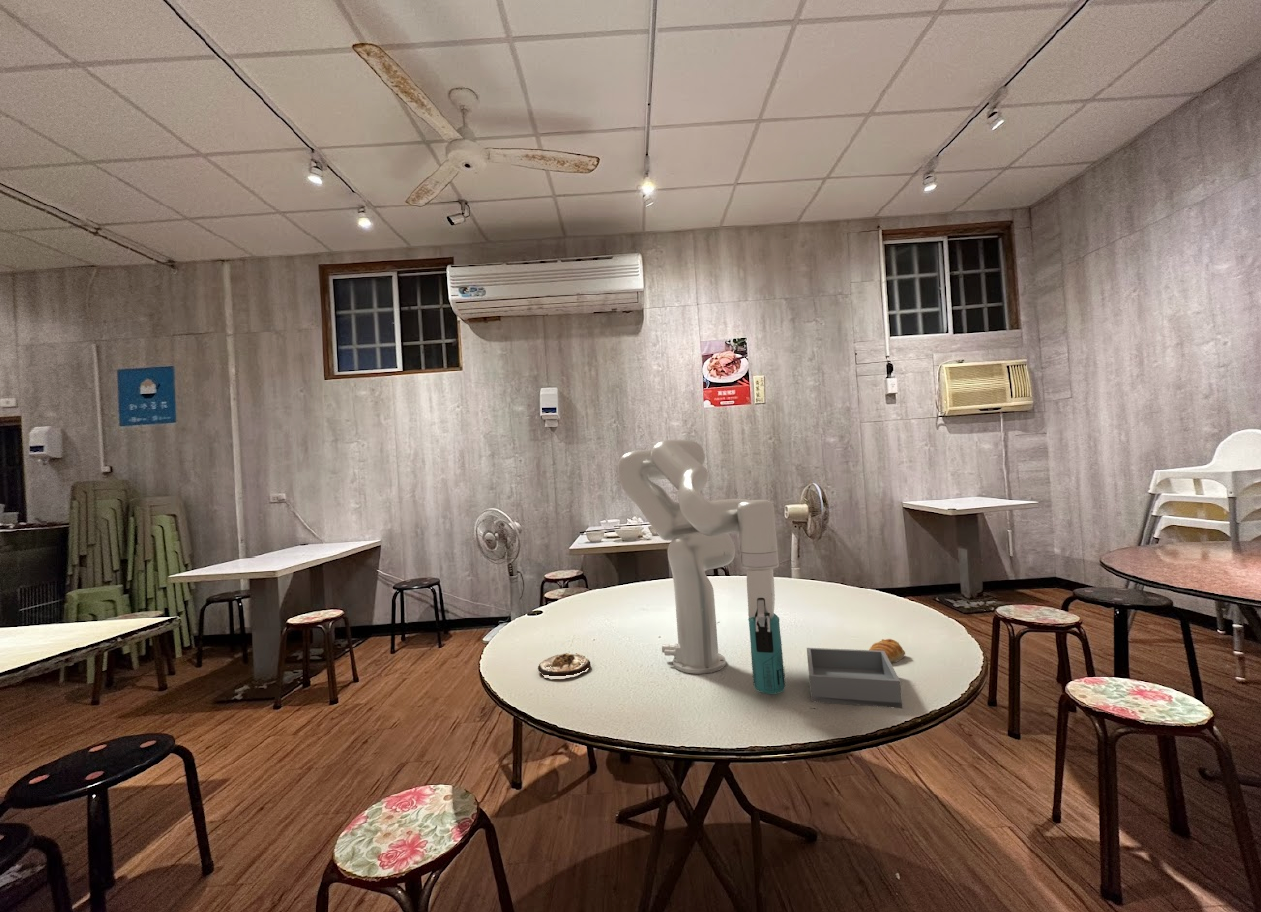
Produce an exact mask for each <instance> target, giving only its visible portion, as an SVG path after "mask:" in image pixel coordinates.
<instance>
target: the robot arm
mask: <svg viewBox="0 0 1261 912" xmlns="http://www.w3.org/2000/svg"><path fill="white" fill-rule="evenodd" d="M704 464H705V451H704V449H703V447H702V446H701V444H700V443H698V442H697V441H695V440H692V439H665V440H662V441H659V442H657V443H656V444H654V446H653V447H652V449H639V450H638V449H637V450H633V451H629V452H627V453H624V454H623V455H622V456H621V457H620V458H619V460H618V463H617V476H618V479H619V483H620V487H621V488H622V489H623V491H624V492H625V494H626V495H627V497H628V498H629V499H630V500H631V501H632V502H633V503H634V504H635V505H636V506H637V507H638V509H639V511H640V512H641V513H642V515H643V516H644V517H645V519H646V520H647V522H648V523H649V524H650V526H651V528H652V529H653V530H654V532H655V533H656V534H657V535H658V537H659V538H660V539H662V540H663V541H669V542H670V543H669V544H668V547H667V558H668V563H669V566H670V570H671V574H672V581H673V588H674V589H673V590H674V600H675V601H674V602H675V615H676V616H675V617H676V629H677V643H674V645H670V644H662V645H661V652H662V654H664V656H665V657H666V656H668V657H670V656H672V657H673V660H672V663H673V667H674V668H675V669H676V670H678V671H680V672H683V673H686V674H687V673H688V674H694V675H695V674H696V675H697V674H698V675H699V674H701V675H702V674H711V673H714V672H717V671H719V670H721V669H723V668H724V667H725V666H726V657H725V656H724V655H722V653H719V645H718V643H719V642H718V630H717V628H718V627H717V617H716V615H717V614H716V604H715V603H716V602H715V591H714V590H715V589H714V588H713V584H712V582H711V580H710V579H709V578H708V576H707V574H706V571H708V570H709V571H710V570H714V569H719V568H722V567H726V566H728V565H729V564H731V563H732V562H733V560H734V558H735V556H736V547H735V543H734V540H733V538H732V536H731V535H730V534H737V533H738V535H739V537H738V538H739V539H738V540H739V549H740V550H739V551H740V564H741V568H742V569H744V570H746V591H747V595H746V597H747V607H748V608H747V612H748V615H747V616H748V618H750V619H752V617H755V618H756V631H755V636H756V649H757V652H767V653H772V652H773V637H772V631H771V630H770V619H772V618H773V616H774V613H775V600H776V598H775V596H776V594H775V593H776V592H775V578H774V577H775V576H774V570H775V569H777V568H779V567H780V564H779V563H780V562H779V553H778V552H779V551H778V542H777V541H778V539H777V527H776V515H775V506H774V503H773V502H772V501H771V500H768V499H746V498H740V497H739V498H727V499H726V498H725V499H716V500H708V499H706V498H705V497H704V496H703V495H702V494H701V493H700V492H701V491H703V489H704V488H705V486H706V484H707V483H708V479H709V472H708V471H707V468H706V467H705V466H704ZM654 480H656V481H657V480H667V481H668V482H670V483H671V485H673V486H674V487H675V488H676V490H677V491H678V492H677V501H675V500H673V499H672V497H671V496H670V495H669V494H668V492H667V491H666V490H665V489H664V488H663V487H661V486H659V484H657V483H655V482H653V481H654ZM767 615H768V616H767ZM765 620H766V621H765Z"/></svg>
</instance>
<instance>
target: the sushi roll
mask: <svg viewBox="0 0 1261 912" xmlns="http://www.w3.org/2000/svg"><path fill="white" fill-rule="evenodd" d="M581 660H582V661H581ZM549 663H550V664H549ZM581 663H584V664H582V666H580V665H581ZM550 666H551V667H550ZM546 667H550V669H545V668H546ZM589 667H590V668H591V661H590V659H589V658H588V657H587V656H586V655H584V654H580V653H574V654H573V653H571V654H570V651H569V652H568V653H567V652H565V653H561V654H555V655H553V656H551V657H548V658H546V659H544V660H542V661H541V662H540V663H539V664H538V666H537V670H538V673H540V672H541V673H542V674H543V675H549V676H566V675H574V674H577V673H580V672H582V671H585V670H586V669H587V668H589ZM548 670H549V671H548Z"/></svg>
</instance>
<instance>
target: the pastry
mask: <svg viewBox="0 0 1261 912" xmlns="http://www.w3.org/2000/svg"><path fill="white" fill-rule="evenodd" d="M868 650H877V651H885V653H886V655H887V657H888V659H889V661H890V663H891V664H893V663H897V662H898V661H900V660H902V659H903V658H904V657H905V655H906V651H905V650H904V649H903V647H902V646H901V644H900V643H899V641H897V640H894V639H891V638H887V639H881V640H879V641H878V642H874V643H873V644H872V645H871V646H870V648H869V649H868Z"/></svg>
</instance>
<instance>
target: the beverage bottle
mask: <svg viewBox="0 0 1261 912" xmlns="http://www.w3.org/2000/svg"><path fill="white" fill-rule="evenodd" d="M767 616H768V615H767ZM765 621H766V620H765ZM748 625H749V627H748V628H749V640H750V641H749V642H750V648H749V649H750V655H751V656H750V657H751V669H752V671H751V673H752V675H751V676H752V684H753V686H754V688H755V690H757V692H760V693H763V694H768V695H769V694H770V695H771V694H780V693H782V692H784V691H785V690H786V689H785V687H786V685H787V684H786V676H785V675H786V673H785V672H786V671H785V667H784V653H783V647H782V646H783V643H782V636H781V635H782V634H781V629H780V617H779V616H778V615H777V614H776V613H775V612H774V616H773V618H772V619H770V630H771V631H772V637H773V652H772V653H767V652H757V649H756V636H755V631H756V618H755V617H752V619H750V618H749V617H748Z"/></svg>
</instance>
